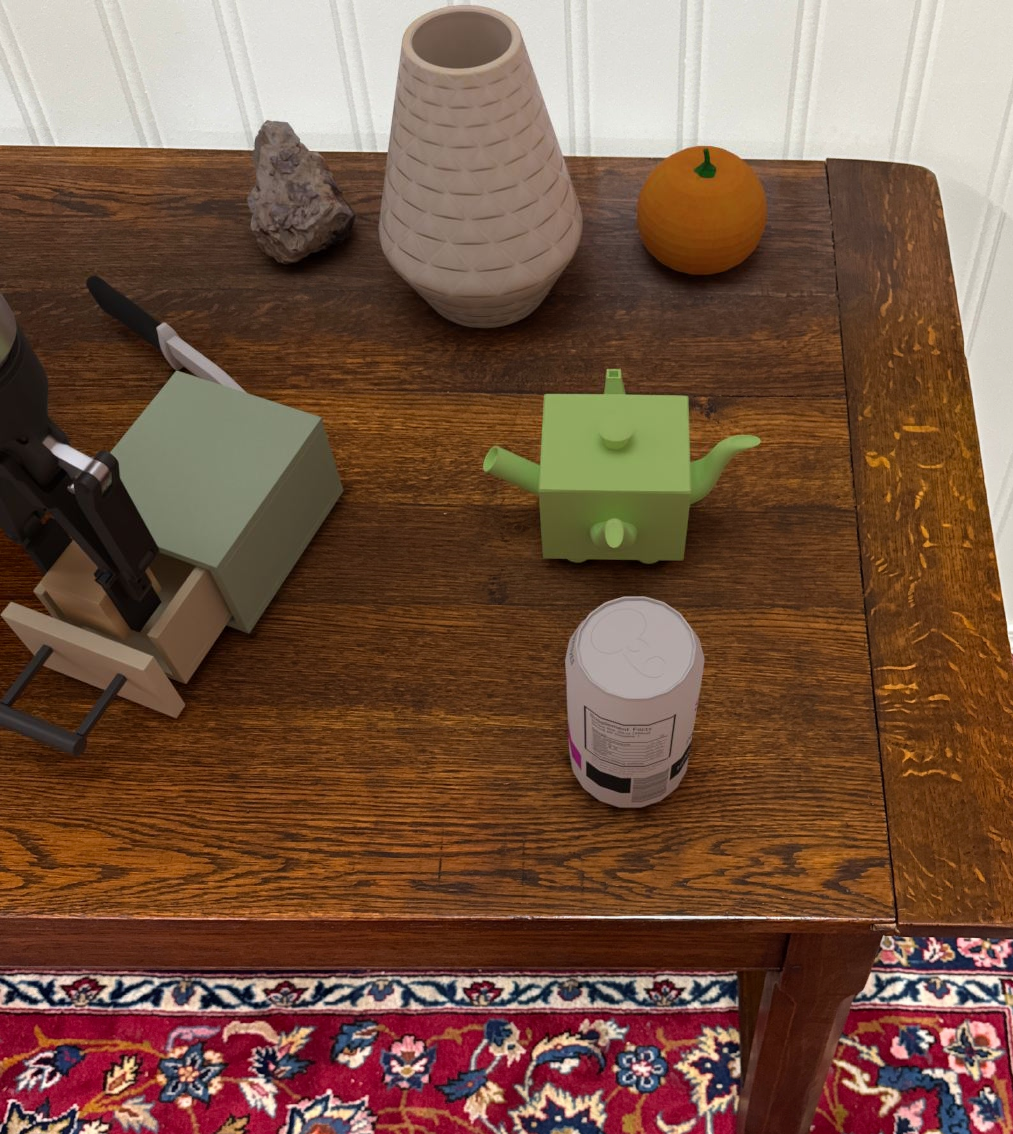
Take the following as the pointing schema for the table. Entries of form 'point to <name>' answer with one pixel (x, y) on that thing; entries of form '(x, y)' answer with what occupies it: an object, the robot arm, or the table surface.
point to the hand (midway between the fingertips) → (113, 602)
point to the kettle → (615, 474)
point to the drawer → (119, 651)
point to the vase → (475, 172)
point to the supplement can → (632, 700)
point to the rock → (294, 197)
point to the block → (85, 593)
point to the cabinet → (229, 485)
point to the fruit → (702, 211)
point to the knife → (156, 334)
